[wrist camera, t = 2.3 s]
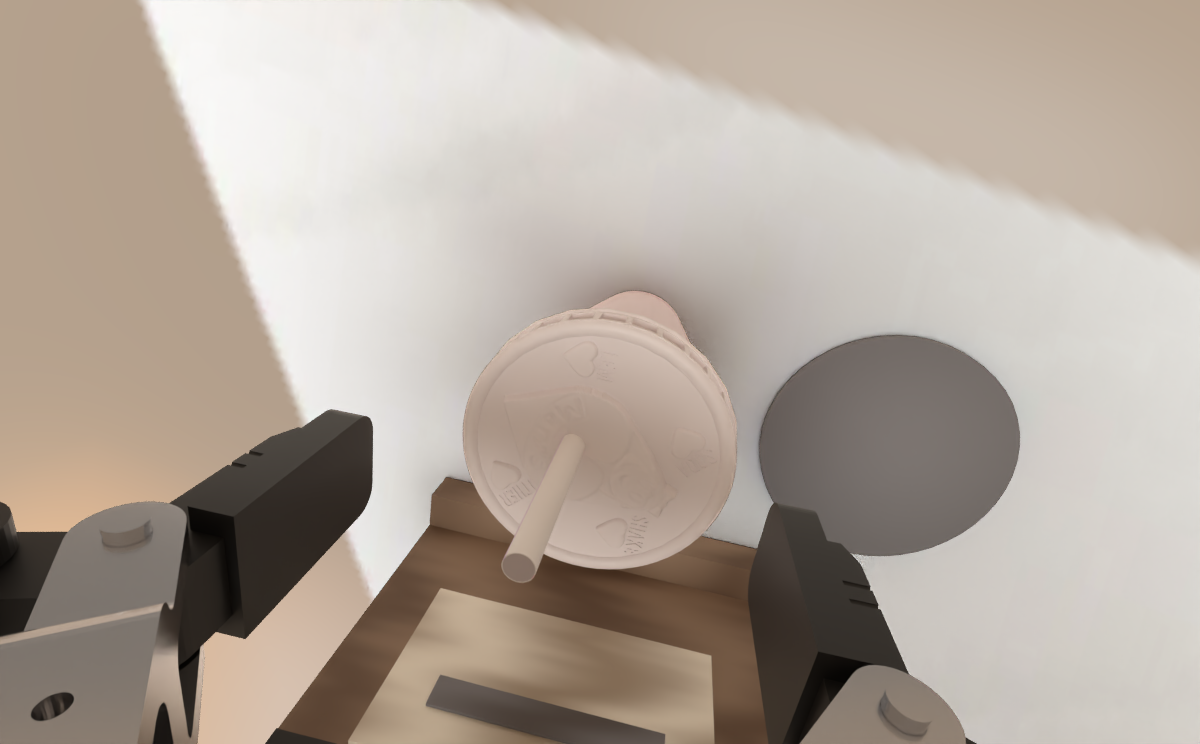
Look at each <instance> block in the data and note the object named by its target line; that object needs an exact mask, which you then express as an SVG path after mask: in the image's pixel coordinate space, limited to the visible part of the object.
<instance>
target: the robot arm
mask: <svg viewBox="0 0 1200 744" xmlns="http://www.w3.org/2000/svg"><path fill="white" fill-rule="evenodd" d="M372 468H373V426H372V422H371V420H370V418H369V417H367V416H362V415H357V414H352V413H347V412H343V411H338V410H333V409H330V410H327V411H326V412H324V413H323V414H321V415H320V416H318V417H317V418H315V419H314V420H312V421H311V422H310V423H308V424H307V425H305V426H304V427H302V428H295V429H292V430H289V431H286V432H283V433H281V434H278V435H275V436H272V437H270V438H268V439H267V440H265V441H264V442H262V443H261V444H259V445H257V446H256V447H254V448H253V449H251V450H250V452H249V454H246V453H245V454H244V455H242V456H241V457H239V458H238V459H236V460H235V461H233V462H232V465H231V466H230V465H227V466H225V467H224V468H222V469H221V470H219V471H218V472H216V473H215V474H213V475H212V476H210V477H209V478H207V479H206V480H204V481H203V482H201V483H199V484H198V485H196V486H195V487H193V488H192V489H190V490H189V491H187V492H186V493H184V494H183V495H181V496H180V497H178V498H177V499H175V500H174V501H172V502H171V503H164V502H137V503H130V504H124V505H121V506H116V507H113V508H109V509H106V510H103V511H101V512H99V513H96V514H94V515H92V516H90V517H88V518H86V519H84V520H82V521H81V522H79V523H78V524H76V525H75V526H74V527H73V528H71V529H70V530H69V531H68V532H16V528H15V525H14V521H13V517H12V513H11V511H10V508H9V507H8V506H7V505H6V504H4V503H1V502H0V744H197V743H198V731H199V720H200V708H201V696H202V684H203V672H204V659H205V657H204V647H203V644H204V643H205V642H206V641H207V640H208V639H209V638H210V637H211V636H212V635H213V634H214V633H215V632H219V633H223V634H227V635H231V636H235V637H239V638H243V639H246V638H247V637H248V636H249V634H250V633H251V632H252V631H253V630H254V629H255V628H256V627H257V626H258V625H259V624H260V623H261V622H262V620H263V619H264V618H265V617H266V616H267V615H268V614H269V613H270V612H271V611H272V610H273V609H274V608H275V606H276V605H277V604H278V603H279V602H280V601H281V600H282V599H283V598H284V597H285V596H286V595H287V594H288V592H289V591H290V590H291V589H292V588H293V587H294V586H295V585H296V584H297V583H298V582H299V581H300V580H301V578H302V577H303V576H304V575H305V574H306V573H307V572H308V571H309V570H310V569H311V568H312V566H314V564H315V563H316V562H317V561H318V560H319V559H320V558H321V557H322V556H323V555H324V554H325V553H326V551H327V550H328V549H329V548H330V547H331V546H332V545H333V544H334V543H335V542H336V541H337V540H338V539H339V538H340V536H341V535H342V534H343V533H344V532H345V531H346V530H347V529H348V528H349V527H350V526H351V525H352V524H353V522H354V521H355V520H356V519H357V518H358V517H359V516H360V515H361V514H362V512H363V511H364V509H365V507H366V505H367V503H368V500H369V498H370V494H371V490H372ZM748 605H749V612H750V619H751V626H752V632H753V639H754V646H755V653H756V660H757V667H758V674H759V681H760V688H761V695H762V702H763V709H764V716H765V723H766V730H767V737H768V744H976V743H974V742H973V741H971V740H969V739H967V738H966V737H965V734H964V730H963V728H962V726H961V724H960V721H959V720H958V718H957V717H956V715H955V713H954V712H953V711H952V709H951V708H950V707H949V706H948V704H947V703H946V702H945V701H944V700H943V699H942V698H941V697H940V696H939V695H938V694H937V693H935V692H934V691H933V690H932V689H931V688H929V687H928V686H927V685H925V684H924V683H923V682H921V681H919V680H918V679H916V678H914V677H913V676H911V675H909V673H908V671H907V669H906V667H905V664H904V662H903V660H902V658H901V655H900V653H899V651H898V648H897V646H896V644H895V642H894V639H893V637H892V635H891V632H890V630H889V628H888V626H887V623H886V621H885V619H884V616H883V614H882V612H881V610H879V609H878V603H877V601H876V598H875V596H874V594H873V591H870V585H869V582H868V580H867V578H866V575H865V573H864V571H863V569H862V566H861V564H860V563H859V562H858V561H857V560H856V559H855V558H854V557H853V556H852V555H851V554H850V553H849V552H848V550H847V549H846V548H845V547H844V546H843V545H842V544H841V543H836V542H831V541H827V539H826V536H825V533H824V531H823V528H822V525H821V523H820V520H819V517H818V515H817V513H816V512H815V511H813V510H808V509H804V508H799V507H794V506H789V505H784V504H780V503H774V504H773V505H772V506H771V508H770V510H769V513H768V516H767V519H766V522H765V525H764V529H763V532H762V535H761V538H760V542H759V545H758V548H757V551H756V555H755V558H754V561H753V564H752V568H751V572H750V577H749V584H748ZM265 744H336V743H332V742H328V741H324V740H321V739H317V738H313V737H309V736H305V735H301V734H297V733H293V732H289V731H285V730H282V729H278V728H277V729H276V730H275V731H274V732H273V734H272V735H271V736H270V738H269V739H268V741H267V742H266V743H265Z"/></svg>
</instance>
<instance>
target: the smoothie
mask: <svg viewBox="0 0 1200 744" xmlns="http://www.w3.org/2000/svg"><path fill="white" fill-rule="evenodd" d="M463 448H464V454H465V460H466V463H467V467H468V471H469V473H470V476H471V479H472V481H473V484H474V486H475V488H476V490H477V492H478V494H479V495H480V497H481V499H482V500H483V502H484V503H485V505H486V506H487V508H488V509H489V510H490V512H491V513H492V514H493V515H494V516H495V518H496V519H497V520H498V521H499V522H500V523H501V524H502V525H503V526H504V527H505V528H506V529H507V530H508V531H509V532H511V533H512V534H513V535H514V538H513V540H512V542H511V544H510V546H509V548H508V550H507V552H506V554H505V556H504V558H503V560H502V563H501V567H502V570H503V572H504V574H505V575H506V576H507V577H508V578H509V579H511V580H512V581H515V582H519V583H524V582H528V581H530V580H532V579H533V578H534V576H535V574H536V572H537V569H538V567H539V564H540V562H541V559H542V556H543V554H545V555H547V556H549V557H552V558H554V559H557V560H559V561H562V562H566V563H569V564H572V565H577V566H582V567H587V568H595V569H626V568H634V567H639V566H644V565H648V564H651V563H654V562H658V561H660V560H663V559H665V558H668V557H670V556H672V555H674V554H676V553H678V552H679V551H681V550H683V549H684V548H686V547H687V546H689V545H690V544H692V543H693V542H694V541H695V540H696V539H698V538H699V537H700V536H701V535H702V534H703V533H704V532H705V531H706V530H707V529H708V528H709V527H710V526H711V524H712V523H713V522H714V521H715V519H716V518H717V516H718V515H719V513H720V512H721V510H722V509H723V507H724V505H725V503H726V501H727V499H728V496H729V493H730V491H731V488H732V485H733V480H734V476H735V470H736V462H737V421H736V417H735V414H734V411H733V408H732V405H731V401H730V398H729V395H728V392H727V388H726V387H725V385H724V383H723V382H722V380H721V379H720V377H719V376H718V374H717V373H716V371H715V370H714V368H713V367H712V365H711V364H710V362H709V361H708V359H707V358H706V357H705V356H704V355H703V354H702V353H701V352H700V351H699V350H697V349H696V348H695V347H694V346H693V345H692V344H691V343H690V341H689V339H688V337H687V335H686V332H685V330H684V328H683V326H682V324H681V321H680V319H679V317H678V315H677V314H676V312H675V311H674V309H673V308H672V307H671V306H670V305H669V304H668V303H667V302H666V301H664V300H663V299H661V298H660V297H658V296H656V295H653V294H651V293H647V292H643V291H626V292H622V293H619V294H616V295H614V296H612V297H610V298H608V299H606V300H604V301H602V302H600V303H598V304H596V305H595V306H593V307H591V308H589V309H576V310H568V311H565V312H562V313H559V314H556V315H553V316H550V317H547V318H544V319H541V320H538V321H536V322H534V323H533V324H531V325H530V326H528V327H527V328H525V329H524V330H522V331H521V332H519V333H518V334H516V335H515V336H514V337H512V338H511V339H509V340H508V341H507V342H506V344H505V345H504V346H503V347H502V348H501V350H500V351H499V352H498V353H497V355H496V356H495V357H494V358H493V359H492V360H491V361H490V363H489V364H488V365H487V366H486V367H485V369H484V370H483V372H482V373H481V375H480V376H479V378H478V379H477V381H476V383H475V385H474V387H473V389H472V391H471V394H470V397H469V399H468V402H467V406H466V410H465V415H464V422H463Z"/></svg>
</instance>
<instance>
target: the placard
mask: <svg viewBox="0 0 1200 744" xmlns="http://www.w3.org/2000/svg"><path fill="white" fill-rule="evenodd" d="M513 538H514V535H513V534H512V533H511V532H509V531H508V530H507V529H506V528H505V527H504V526H503V525H502V524H501V523H500V522H499V521H498V520H497V519H496V518H495V516H494V515H493V514H492V513H491V512H490V510H489V509H488V508H487V506H486V505H485V503H484V502H483V500H482V499H481V497H480V495H479V494H478V492H477V490H476V488H475V486H474V484H473V483H469V482H465V481H460V480H456V479H452V478H447V477H446V478H445V479H444V481H443V482H442V483H441V484H440V486H439V487H438V488H437V489H436V491H435V492H434V493H433V494H432V500H431V514H430V525H429V527H428V528H427V529H426V531H425V532H424V533H423V535H422V536H421V537H420V539H419V540H418V541H417V543H416V544H415V545H414V547H413V548H412V549H411V551H410V552H409V553H408V555H407V556H406V557H405V559H404V560H403V561H402V563H401V564H400V565H399V567H398V568H397V570H396V571H395V572H394V574H393V575H392V576H391V578H390V579H389V580H388V582H387V583H386V584H385V586H384V587H383V588H382V590H381V591H380V592H379V594H378V595H377V596H376V598H375V599H374V600H373V602H372V603H371V604H370V606H369V607H368V608H367V610H366V611H365V612H364V614H363V615H362V617H361V618H360V619H359V621H358V622H357V623H356V625H355V626H354V627H353V629H352V630H351V631H350V633H349V634H348V636H347V637H346V638H345V639H344V641H343V642H342V643H341V645H340V646H339V647H338V649H337V650H336V651H335V653H334V654H333V656H332V657H331V658H330V659H329V661H328V662H327V663H326V665H325V666H324V668H323V669H322V670H321V672H320V673H319V674H318V676H317V677H316V679H315V680H314V681H313V682H312V684H311V685H310V687H309V688H308V689H307V690H306V692H305V693H304V695H303V696H302V697H301V698H300V700H299V701H298V703H297V704H296V705H295V707H294V708H293V709H292V711H291V712H290V713H289V714H288V716H287V717H286V719H285V720H284V721H283V723H282V724H281V725H280V727H279V728H278V729H282V730H285V731H289V732H293V733H297V734H301V735H305V736H309V737H313V738H317V739H321V740H324V741H328V742H332V743H336V744H768V737H767V730H766V723H765V716H764V709H763V702H762V695H761V688H760V681H759V674H758V667H757V660H756V653H755V646H754V639H753V632H752V626H751V619H750V612H749V605H748V584H749V577H750V572H751V568H752V564H753V561H754V558H755V555H756V551H757V549H753V548H749V547H745V546H740V545H736V544H732V543H728V542H723V541H719V540H715V539H710V538H706V537H702V536H700V537H699V538H698V539H696V540H695V541H694V542H693V543H692V544H690V545H689V546H687V547H686V548H684V549H683V550H681V551H679V552H678V553H676V554H674V555H672V556H670V557H668V558H665V559H663V560H660V561H658V562H654V563H651V564H648V565H644V566H639V567H634V568H626V569H595V568H587V567H582V566H577V565H572V564H569V563H566V562H562V561H559V560H557V559H554V558H552V557H549V556H547V555H545V554H543V556H542V559H541V562H540V564H539V567H538V569H537V572H536V574H535V576H534V578H533V579H532V580H530V581H528V582H524V583H519V582H515V581H512V580H511V579H509V578H508V577H507V576H506V575H505V574H504V572H503V570H502V567H501V563H502V560H503V558H504V556H505V554H506V552H507V550H508V548H509V546H510V544H511V542H512V540H513Z"/></svg>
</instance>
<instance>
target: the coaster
mask: <svg viewBox="0 0 1200 744" xmlns="http://www.w3.org/2000/svg"><path fill="white" fill-rule="evenodd" d="M1019 448H1020V431H1019V425H1018V419H1017V415H1016V412H1015V409H1014V406H1013V403H1012V402H1011V400H1010V398H1009V396H1008V394H1007V392H1006V390H1005V389H1004V388H1003V386H1002V385H1001V384H1000V383H999V381H998V380H997V379H996V377H994V376H993V375H992V374H991V373H990V372H989V371H988V370H987V369H986V368H985V367H984V366H982V365H981V364H979V363H978V362H977V361H975V360H974V359H972V358H971V357H969V356H968V355H966V354H965V353H963V352H961V351H959V350H957V349H955V348H953V347H951V346H949V345H946V344H943V343H940V342H937V341H934V340H930V339H925V338H920V337H915V336H902V335H892V336H878V337H871V338H865V339H861V340H857V341H853V342H850V343H846V344H844V345H841V346H839V347H837V348H834V349H832V350H829V351H828V352H826V353H824V354H822V355H820V356H819V357H817V358H815V359H814V360H812V361H811V362H809V363H808V364H807V365H805V366H804V367H802V368H801V369H800V370H799V371H798V372H797V373H796V374H795V375H794V376H792V377H791V378H790V379H789V381H788V382H787V383H786V384H785V385H784V386H783V388H782V389H781V390H780V391H779V393H778V394H777V396H776V398H775V399H774V401H773V402H772V404H771V406H770V408H769V410H768V413H767V415H766V417H765V420H764V424H763V427H762V431H761V437H760V463H761V469H762V474H763V478H764V481H765V484H766V487H767V490H768V492H769V494H770V496H771V498H772V500H773V502H774V503H780V504H784V505H789V506H794V507H799V508H804V509H808V510H813V511H815V512H816V513H817V515H818V517H819V520H820V523H821V525H822V528H823V531H824V533H825V536H826V539H827V541H831V542H836V543H841V544H842V545H843V546H844V547H845V548H846V549H847V550H848V552H849V553H852V554H859V555H867V556H892V555H902V554H908V553H913V552H918V551H921V550H925V549H928V548H932V547H934V546H937V545H939V544H941V543H944V542H946V541H948V540H950V539H952V538H954V537H956V536H958V535H960V534H961V533H963V532H964V531H966V530H967V529H969V528H970V527H972V526H973V525H974V524H976V523H977V522H978V521H979V520H980V519H981V518H982V517H984V516H985V515H986V514H987V513H988V512H989V511H990V509H991V508H992V507H993V506H994V505H995V504H996V503H997V501H998V500H999V499H1000V497H1001V496H1002V494H1003V493H1004V491H1005V490H1006V488H1007V486H1008V484H1009V482H1010V480H1011V478H1012V476H1013V473H1014V470H1015V467H1016V464H1017V460H1018V454H1019Z"/></svg>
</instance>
